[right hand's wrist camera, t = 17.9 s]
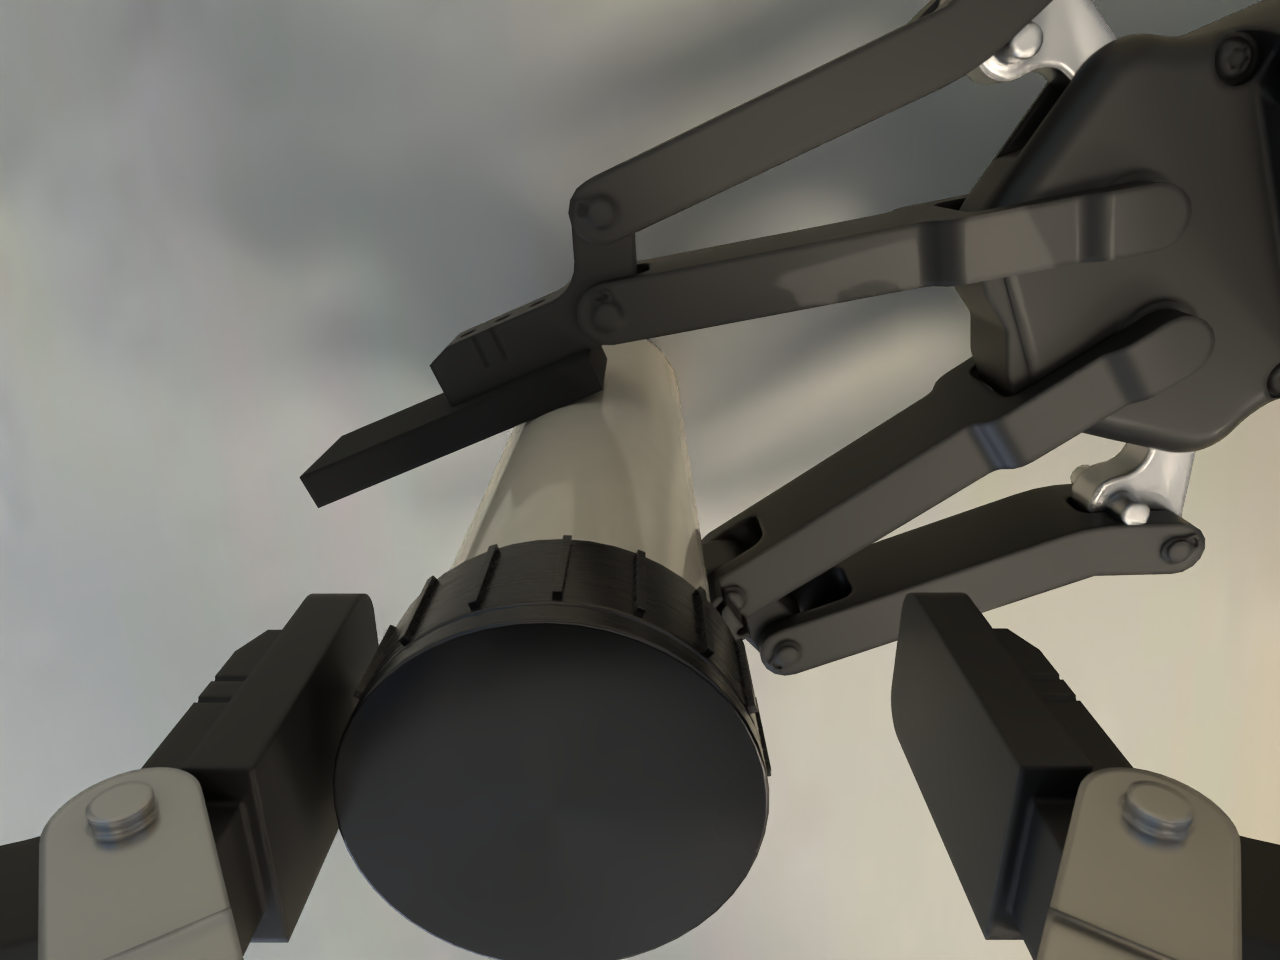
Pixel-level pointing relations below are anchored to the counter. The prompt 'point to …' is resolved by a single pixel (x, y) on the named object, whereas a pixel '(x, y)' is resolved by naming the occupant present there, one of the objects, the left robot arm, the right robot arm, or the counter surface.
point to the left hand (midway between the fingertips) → (387, 561)
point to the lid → (555, 756)
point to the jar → (601, 472)
